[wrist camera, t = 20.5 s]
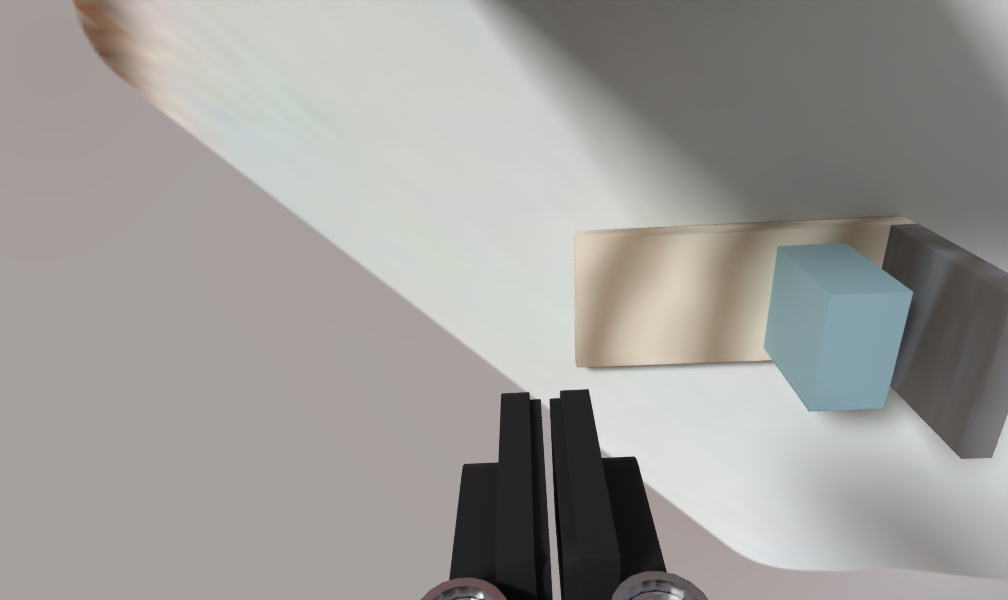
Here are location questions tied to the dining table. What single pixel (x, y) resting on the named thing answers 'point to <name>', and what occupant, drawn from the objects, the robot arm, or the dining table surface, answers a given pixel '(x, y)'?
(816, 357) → the pale blue upright box
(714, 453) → the dining table surface
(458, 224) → the dining table surface
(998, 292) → the wooden bookend
